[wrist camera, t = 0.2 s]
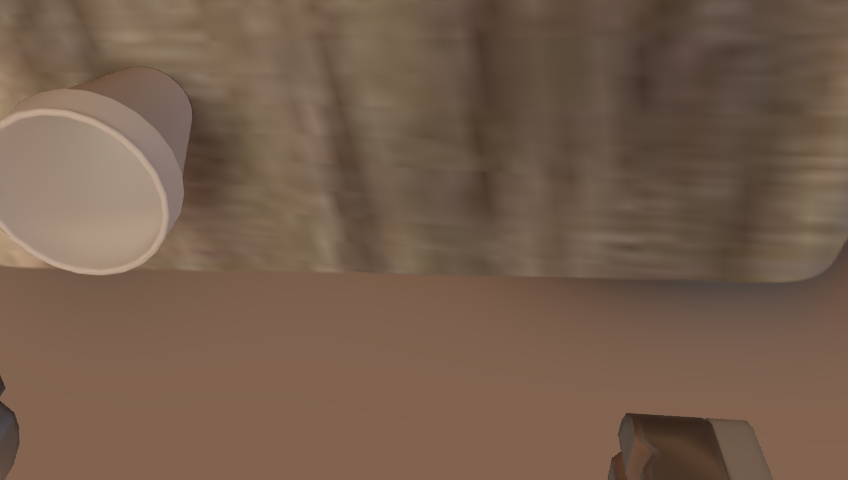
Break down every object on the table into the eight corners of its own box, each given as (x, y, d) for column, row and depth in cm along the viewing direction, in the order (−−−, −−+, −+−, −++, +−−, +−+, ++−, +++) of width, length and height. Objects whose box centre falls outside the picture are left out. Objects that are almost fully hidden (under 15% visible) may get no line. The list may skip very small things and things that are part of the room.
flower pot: (201, 201, 65) (141, 303, 54) (55, 138, 63) (-40, 231, 51) (249, 76, 59) (193, 163, 47) (88, 1, 56) (-12, 73, 45)
